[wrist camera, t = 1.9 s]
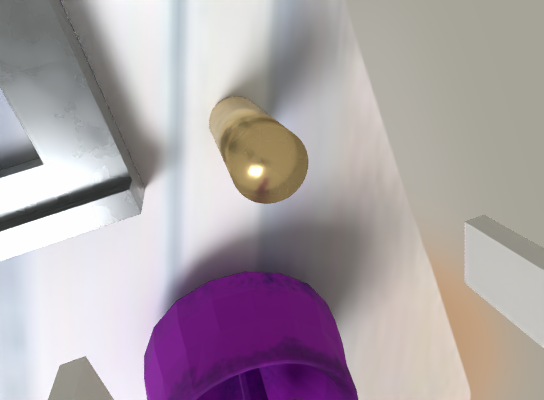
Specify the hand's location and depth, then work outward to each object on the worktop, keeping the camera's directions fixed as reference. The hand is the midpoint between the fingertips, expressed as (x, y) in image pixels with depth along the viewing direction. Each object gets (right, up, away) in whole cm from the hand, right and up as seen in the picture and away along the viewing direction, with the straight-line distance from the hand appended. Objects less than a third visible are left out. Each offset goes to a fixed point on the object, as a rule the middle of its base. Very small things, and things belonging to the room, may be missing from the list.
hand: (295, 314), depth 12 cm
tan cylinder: (-4, +10, +19) cm, 22 cm away
